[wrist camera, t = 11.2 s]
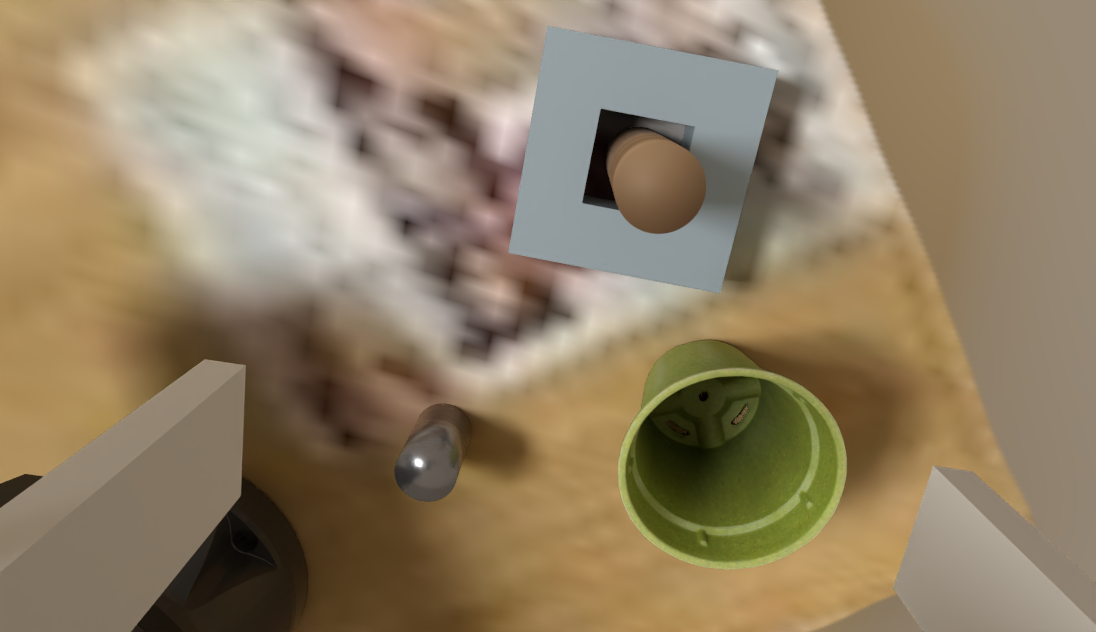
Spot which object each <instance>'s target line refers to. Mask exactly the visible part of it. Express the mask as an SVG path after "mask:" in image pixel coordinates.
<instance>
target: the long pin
mask: <svg viewBox="0 0 1096 632" xmlns="http://www.w3.org/2000/svg"><path fill="white" fill-rule="evenodd" d="M605 165H606V169H607V172H608V176H609V179H610V183H611V186H612V190H613V193H614V197H615V200H616V204H617V206H618V209H619V211H620V212H621V214H622V215H623V217H624V218H625V219H626V220H627V221H628V222H629V223H630V224H631V225H632V226H634V227H635V228H637V229H639V230H641V231H644V232H647V233H652V234H665V233H670V232H674V231H676V230H679V229H680V228H682V227H684V226H685V225H687V224H688V223H689V222H690V221H691V220H693V219H694V217H695V216H696V215H697V214H698V212H699V210H700V209H701V207H702V204H703V202H704V199H705V194H706V178H705V174H704V171H703V168H702V166H701V164H700V163H699V161H698V160H697V158H696V157H695V156H694V155H693V154H692V153H691V152H689V151H688V150H687V149H685V148H683V147H682V146H680V145H678V144H676V143H674V142H672V141H671V140H669V139H667V138H665V137H663V136H661V135H660V134H658V133H656V132H654V131H652V130H650V129H648V128H645V127H630V128H626V129H624V130H622V131H620V132H619V133H617V134H616V135H615V136H614V137H613V138H612V140H611V141H610V143H609V144H608V147H607V149H606V154H605Z"/></svg>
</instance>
